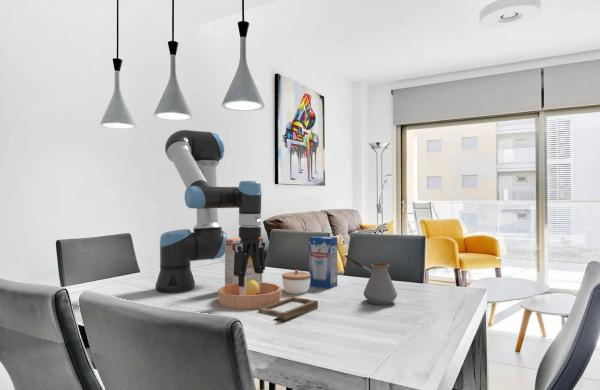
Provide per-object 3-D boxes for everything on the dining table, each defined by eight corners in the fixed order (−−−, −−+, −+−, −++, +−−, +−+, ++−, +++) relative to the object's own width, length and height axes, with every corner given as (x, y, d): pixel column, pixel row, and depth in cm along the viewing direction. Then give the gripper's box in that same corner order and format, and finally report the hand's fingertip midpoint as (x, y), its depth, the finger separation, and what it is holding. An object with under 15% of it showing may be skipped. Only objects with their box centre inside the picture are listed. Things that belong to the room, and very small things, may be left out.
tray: (258, 316, 124) (258, 308, 124) (293, 303, 138) (293, 296, 138) (284, 322, 118) (284, 313, 118) (317, 308, 133) (317, 300, 133)
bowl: (205, 306, 135) (205, 290, 135) (248, 294, 152) (248, 279, 152) (252, 317, 123) (252, 299, 123) (293, 302, 140) (292, 286, 140)
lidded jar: (307, 299, 145) (307, 273, 145) (278, 297, 147) (278, 272, 147) (313, 292, 155) (312, 267, 155) (285, 291, 158) (285, 267, 158)
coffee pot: (403, 301, 141) (403, 258, 141) (386, 308, 133) (385, 262, 133) (352, 292, 156) (352, 253, 156) (334, 297, 147) (334, 256, 147)
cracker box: (232, 296, 149) (232, 239, 149) (224, 294, 153) (224, 238, 153) (263, 291, 158) (263, 237, 158) (254, 288, 162) (254, 236, 163)
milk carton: (337, 285, 167) (337, 237, 167) (330, 288, 161) (330, 238, 162) (316, 283, 172) (316, 236, 172) (309, 285, 167) (308, 237, 167)
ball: (237, 297, 137) (237, 279, 137) (249, 293, 142) (249, 276, 142) (250, 299, 134) (250, 281, 134) (262, 296, 139) (262, 278, 139)
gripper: (238, 228, 128) (238, 301, 128) (275, 224, 143) (275, 290, 144) (221, 227, 132) (221, 298, 132) (259, 223, 148) (259, 287, 148)
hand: (249, 293), depth 138 cm, fingers closed on ball, 6 cm apart
